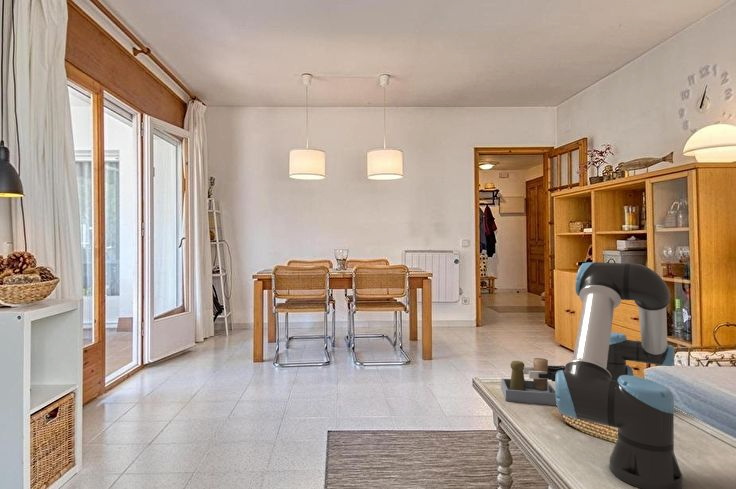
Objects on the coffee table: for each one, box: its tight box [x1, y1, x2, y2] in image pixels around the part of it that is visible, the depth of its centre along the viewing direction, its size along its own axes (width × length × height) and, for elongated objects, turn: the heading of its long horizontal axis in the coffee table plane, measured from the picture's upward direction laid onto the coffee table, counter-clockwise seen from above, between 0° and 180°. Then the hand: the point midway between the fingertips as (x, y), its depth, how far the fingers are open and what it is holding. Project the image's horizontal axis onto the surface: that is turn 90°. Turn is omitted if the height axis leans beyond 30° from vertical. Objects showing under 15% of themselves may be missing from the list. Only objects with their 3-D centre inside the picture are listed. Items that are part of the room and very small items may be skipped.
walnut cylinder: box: [532, 357, 549, 391], centre depth 160 cm, size 5×5×11 cm
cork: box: [510, 360, 526, 391], centre depth 165 cm, size 6×6×11 cm
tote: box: [500, 377, 557, 406], centre depth 161 cm, size 15×18×4 cm
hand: (526, 372), depth 160 cm, fingers closed on walnut cylinder, 5 cm apart
